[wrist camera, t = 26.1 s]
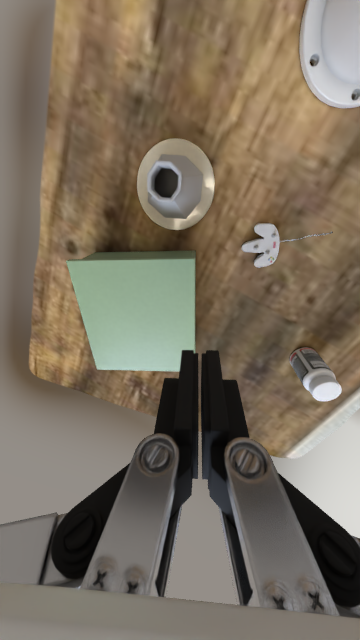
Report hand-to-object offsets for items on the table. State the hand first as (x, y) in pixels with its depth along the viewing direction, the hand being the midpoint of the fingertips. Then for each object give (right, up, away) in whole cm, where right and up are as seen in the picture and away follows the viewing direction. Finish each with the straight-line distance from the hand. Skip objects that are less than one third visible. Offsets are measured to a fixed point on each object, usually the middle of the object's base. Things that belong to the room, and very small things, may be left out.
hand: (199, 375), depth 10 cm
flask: (-2, +20, +18) cm, 26 cm away
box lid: (-7, +3, +19) cm, 21 cm away
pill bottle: (+21, -4, +29) cm, 36 cm away
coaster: (-2, +20, +18) cm, 27 cm away
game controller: (+14, +14, +20) cm, 28 cm away
